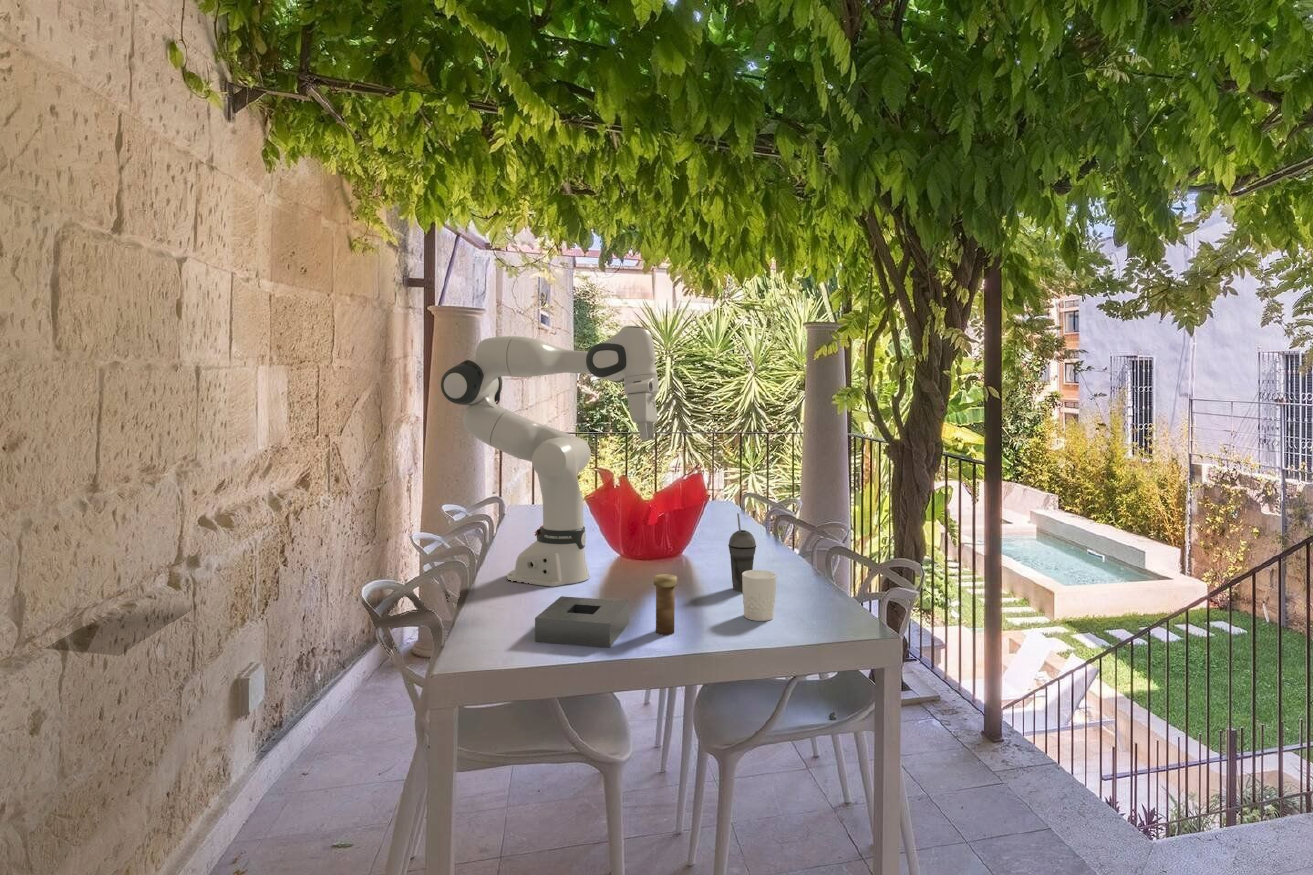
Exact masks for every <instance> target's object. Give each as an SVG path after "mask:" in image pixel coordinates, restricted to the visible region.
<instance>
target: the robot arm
mask: <svg viewBox="0 0 1313 875" xmlns="http://www.w3.org/2000/svg"><path fill="white" fill-rule="evenodd" d="M563 373H567V374H571V373H572V374H583V375H584V374H586V375H592V376H594V377H596V378H598V379H601V380H604V381H605V380H606V381H610V382H612V383H616V384H618V383H623V382H624V386H623V392H624V394H625V397H627V405H628V409H629V415H630V419H631V421H632V422H633V423H634V424H636V425H637V430H638V432H639V437H640V441H653V440H654V439H655V434H654V433H655V432H654V431H655V430H654V429H655V423H657V422H658V417H659V416H658V410H657V404H656V394H658V393H660V386H659V377H658V372H657V369H656V350H655V345H654V339H653V335H652V333H651V331H649V330H648V329H647V328H645V327H642V326H634V325H630V326H629V325H628V326H624V327H622V328H621V329H620V330H619V331H618V332H617V333H616V334H615V335H613V336H611V337H610V338H608V339H606V340H604V341H602V342H600V343H596V344H594V345H593V346H591V348H590V349H589V350H588V351H585V350H574V349H573V350H570V349H565V348H562V347H558V346H555V345H553V344H551V343H547V342H545V341H543V340H540V339H536V338H532V337H527V336H516V335H515V336H514V335H513V336H512V335H509V336H508V335H504V336H503V335H502V336H495V337H488V338H484V339H483V340H481V341H480V342H479V343H478V344H477V347H476V349H475V356H474V359H473V360H469V359H466V360H464V361H462V362H460V363H459V364H457V365H454V366H453V367H451V368H449V369H448V370H447V371H445V372H444V373H443V375H442V378H441V381H440V390H441V393H442V394H443V396H444V398H445V399H446V400H448V401H449V402H450V403H453V404H455V405H459V406H460V405H461V406H464V407H465V412H464V413H463V414H464V415H463V419H462V424H463V426H464V427H463V428H464V429H465V430H466V431H467V432H468V433H469V434H470V435H471V436H473V437H475V438H476V439H477V440H478V441H481V442H482V443H484V444H486V445H488V446H490V447H493V448H494V449H497V450H498V451H501V452H503V453H505V454H507V455H509V456H512V457H514V458H516V459H518V460H524V461H527V462H531V463H532V467H533V470H534V471H535V473H536V474H537V477H538V478H537V479H538V482H539V487H540V492H541V498H542V499H541V500H542V525H541V526H540V527H539V528H537V529H536V530H535V531H534V537H536V540H535V541H534V542H533V543H531V544H530V545H529V546H527V547H526V548H525V549H524V550H523V551H522V552H520V553H519V554H518V556H517V558H516V561H515V565H514V569H512V570H510V572H508V573H507V575H506V580H507V579H508V580H511V581H510V582H513V581H517V582H516V583H521V582H524V583H523V584H528V583H529V585H530V584H531V585H537V586H546V587H559V586H563V585H570V584H577V583H581V582H584V581H586V580H588V579H590V577H591V576H590V574H589V570H588V565H587V560H586V552H585V551H586V550H585V547H586V538H587V537H586V527H585V526H584V497H583V495H582V493H581V489H580V484H579V480H578V474H579V473H581V472H582V471H583V470H584V469H585V468H586V467H587V465H588V464H589V463H590V460H591V457H592V453H591V452H592V450H591V447H590V445H589V443H588V442H587V441H586V440H585V439H583V438H580V437H579V436H577V435H576V436H575V435H573V434H570V433H567V432H565V431H562V430H560V429H556V428H554V427H552V426H548V425H544V424H543V423H542V424H541V423H538V422H536V421H533V420H531V419H529V418H526V417H525V416H522V415H520V414H517V413H515V412H513V411H511V410H508V409H506V408H504V407H502V406H500V405H498V404H499V403H500V400H501V393H502V389H503V378H502V377H512V378H532V377H539V376H547V375H553V374H554V375H555V374H563ZM508 580H507V581H508Z"/></svg>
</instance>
